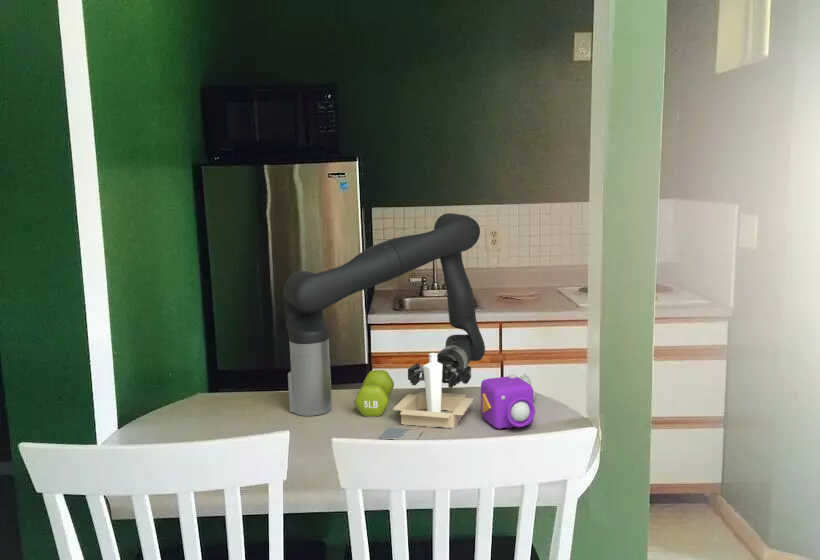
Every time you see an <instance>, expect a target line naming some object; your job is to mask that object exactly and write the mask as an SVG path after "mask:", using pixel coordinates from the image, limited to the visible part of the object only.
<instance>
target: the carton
mask: <svg viewBox="0 0 820 560" xmlns="http://www.w3.org/2000/svg"><path fill="white" fill-rule="evenodd" d="M404 396H405V397H403V398H402V399H401V400H400V401H399V402H398V403H397V404H396V405H395V406H394V407H393V408H392V411H400V413H399V415H400V423H401V424H408V425H427V426H428V425H429V426H443V427H453V428H454V427H455V426H456V424H457V423H458V421H459V420H460V419H461V417H462V416H463V415H464V416H465V414H466V413H467V411H468V409H469V408H470V407H471V405H472V404H473V402H474V401H475V398H473V397H472V398H471V397H466V396H467V393H466V394H465V393H463V394H462V393H451V392H450V393H448V392H447V393H446V392H442V397H441V410H448V411H447V412H444V411H441V412H431V411H428V410H427V400H426V391H420V392H419V393H414V394H413V393H408V394H406V395H404ZM418 408H421V409H420V410H419V409H418ZM417 409H418V410H417ZM465 412H466V413H465ZM464 416H463V417H464ZM463 417H462V418H463ZM461 420H462V419H461ZM461 420H460V421H461ZM458 424H459V423H458ZM458 424H457V425H458ZM456 427H457V426H456ZM456 427H455V428H456Z"/></svg>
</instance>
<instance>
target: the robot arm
mask: <svg viewBox="0 0 820 560" xmlns="http://www.w3.org/2000/svg"><path fill="white" fill-rule="evenodd" d="M480 235H481V228H480V226H479V223H478V222H477V221H476V220H475V219H474V218H472V217H471V216H468V215H466V214H460V213H452V212H449V213H448V212H447V213H444V214H442V215H441V216H439V217H438V218H437V219H436V221H435V223H434V227H433V230H430V231H427V232H423V233H417V234H409V235H404V236H399V237H395V238H391V239H387V240H384V241H382V242H379V243H377V244H374V245H372V246H370V247H367V248H366V249H364V250H363V251H361V252H360V253H358V254H357V255H355V256H354V257H353V258H352V259H350V260H349V261H347V262H346V263H343V264H342V265H340V266H337V267H335V268H332V269H328V270H325V271H322V272H321V271H320V272H316V273H313V272H310V271H307V270H301V271H299V270H298V271H296V272H293V273H292V274H291V275H290V276H289V277H288V278H287V279H286V281H285V283H284V288H283V304H284V305H283V306H284V317H285V325H286V329H287V332H288V333H287V334H288V337H289V338H288V339H289V341H288V342H289V354H290V355H289V356H290V357H289V358H290V371H289V372H288V373H287V383H288V385H287V386H288V403H289V413H294V414H295V415H299V416H304V417H305V416H307V417H308V416H309V417H311V416H320V415H323V414H326V413H329V412H331V411H332V410H333V399H332V379H331V378H332V377H331V376H332V375H331V358H330V337H329V335H330V333H329V327H328V325H327V324H326V321H325V318H324V313H323V312H324V311H323V310H325V309H327V308H329V307H331V306H333V305H334V304H336V303H338V302H340V301H341V300H343V299H345V298H347V297H349V296H351V295H353V294H355V293H359V292H361V291H364V290H367V289H371V288H372V287H375V286H378V285H380V284H384V283H385V282H388V281H391V280H393V279H395V278H399V277H400V276H403V275H404V274H407V273H409V272H411V271H413V270H416V269H419V268H421V267H423V266H426V265H427V264H429V263H431V262H434V261H436V260H439V261H440V265H441V268H442V273H443V278H444V283H445V291H446V297H447V308H448V309H447V310H448V319H449V320H448V321H449V325H450V326H451V327H452V328H455V329H459V330H463V331H465V332H466V334H452V335H449V336H448V337H447V338H446V340H445V347H444V348H442V349H441V350H440V351H439V352H437V353H438V355H437V362H439V363H441V364H443V370H442V384H448V388H453V387H456V386H457V385H458V384H459V385H460V383H462V384H464V385H466V384H468V383H469V382H470V380H471V378H472V366H470V365H469V364H470V362H476V361H478V362H479V361H481V360H482V359H483V358H484V356H485V354H486V353H485V352H486V345H485V341H484V339H483V336H482V334H481V331H480V329H479V325H478V322H477V316H476V304H475V296H474V292H473V289H472V286H471V282H470V280H469V278H468V277H469V276H468V275H467V273H466V269H465V266H464V263H463V256H462V252H466V251H468V250H470V249H472V248H473V247H474V246H475V245H476V244H477V242H478V240H479V238H480ZM407 380H408V381H410V384H411V386H417V384H419V382H420V381H421V382H422V381H424V382H425V380H424V370H423V366H421V363H415V364H413V365H411V366H410V367H409V368H408V369H407Z"/></svg>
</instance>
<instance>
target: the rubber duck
mask: <svg viewBox="0 0 820 560" xmlns="http://www.w3.org/2000/svg"><path fill="white" fill-rule="evenodd" d="M519 378H520V379H522V380H523V381H525V382H527V383H528V384H530V385H531V386H532V381H531V379H530V377H529V375H527V374H526V372H524V373H523V376H522V375H520V376H519ZM536 395H537V394H536V391H535V390H534V389H533V402H534V401H535V400H536Z"/></svg>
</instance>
